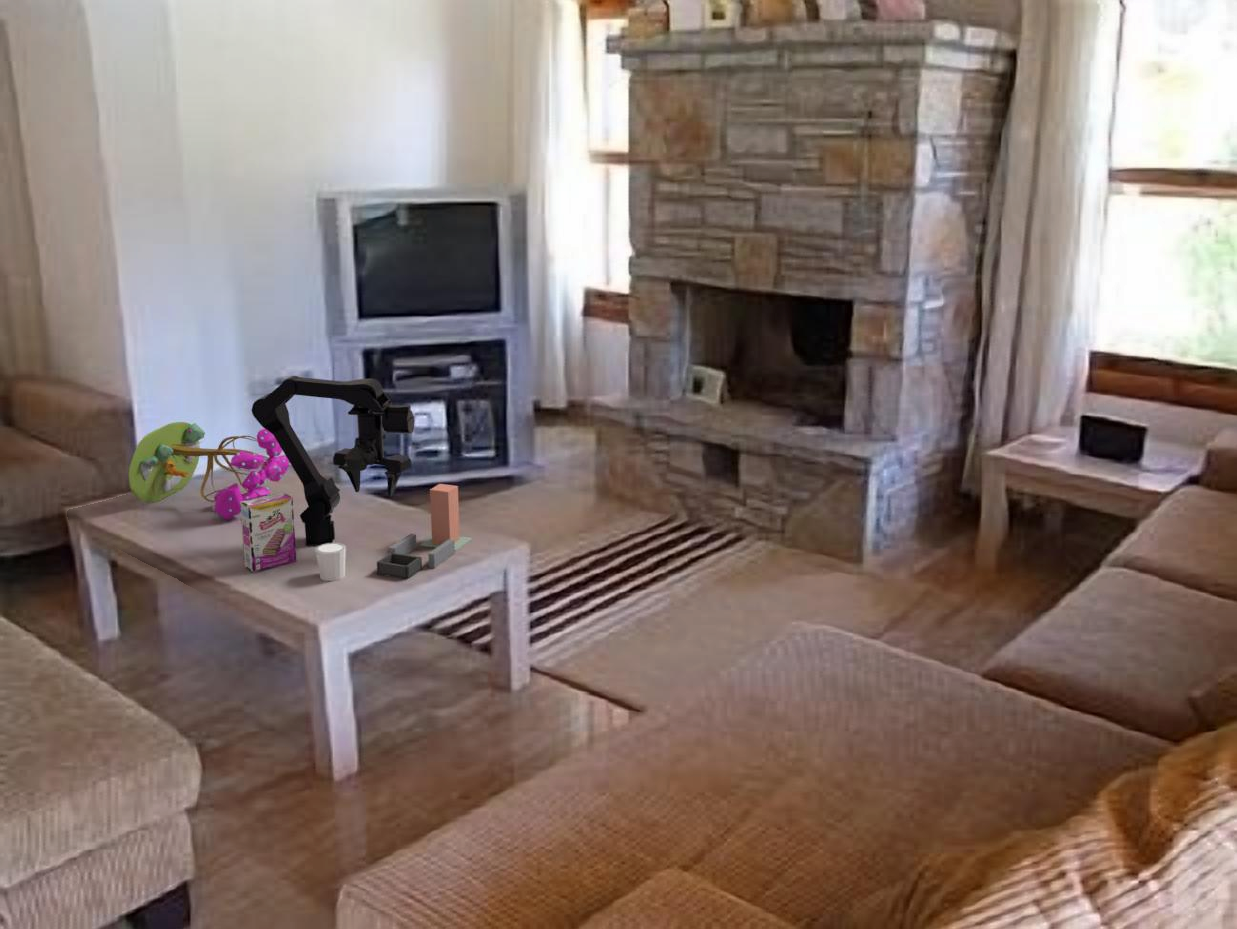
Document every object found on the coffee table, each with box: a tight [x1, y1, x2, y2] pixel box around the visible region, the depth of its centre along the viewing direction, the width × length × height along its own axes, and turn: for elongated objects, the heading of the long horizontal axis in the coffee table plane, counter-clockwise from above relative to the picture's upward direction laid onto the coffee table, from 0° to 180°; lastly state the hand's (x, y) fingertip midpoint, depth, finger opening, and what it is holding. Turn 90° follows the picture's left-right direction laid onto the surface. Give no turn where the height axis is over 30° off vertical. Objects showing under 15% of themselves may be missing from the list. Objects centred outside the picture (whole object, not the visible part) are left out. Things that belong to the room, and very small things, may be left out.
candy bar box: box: [240, 492, 297, 573], centre depth 270 cm, size 11×5×16 cm, turn 133°
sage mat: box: [419, 536, 474, 552], centre depth 287 cm, size 10×9×1 cm
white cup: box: [314, 542, 347, 582], centre depth 265 cm, size 7×7×7 cm
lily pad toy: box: [127, 421, 292, 521], centre depth 310 cm, size 30×28×35 cm
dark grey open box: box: [376, 553, 423, 580], centre depth 269 cm, size 8×6×3 cm
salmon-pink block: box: [429, 483, 460, 545], centre depth 285 cm, size 5×5×14 cm
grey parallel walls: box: [388, 533, 456, 569], centre depth 277 cm, size 12×10×4 cm
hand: (373, 494), depth 282 cm, fingers open, 9 cm apart
